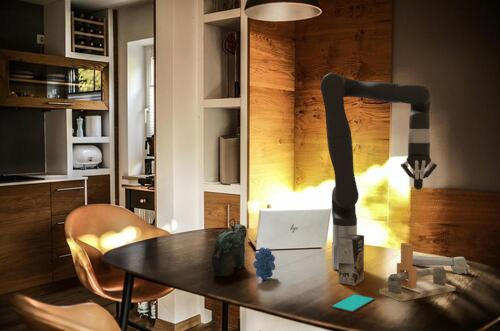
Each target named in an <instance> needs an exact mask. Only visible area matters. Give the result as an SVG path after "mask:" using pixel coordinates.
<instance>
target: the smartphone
mask: <svg viewBox="0 0 500 331" xmlns="http://www.w3.org/2000/svg"><path fill="white" fill-rule="evenodd" d="M374 301H375V298H373V297H369V296H365V295H361V294H351V295H349V296H348V297H346V298H343V299H342V300H339V301H338V302H336V303H334V304H332V305H331V306H330V308H331V309H334V310H339V311H343V312H347V313H351V314H353V313H355V312H357V311H358V310H360V309H362V308H364V307H365V306H367V305H369V304H371V303H372V302H374Z"/></svg>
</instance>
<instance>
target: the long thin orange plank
mask: <svg viewBox="0 0 500 331" xmlns="http://www.w3.org/2000/svg"><path fill="white" fill-rule="evenodd" d="M413 255H414V245H413V244H412V243H408V242H402V243H400V262H397V263H396V273H402V272H406V271H407V272H408V280H407V279H406V280H401V285H402V286H405V287H407V288H410V289H415V288H416V287H417V282H418V281H417V270H418V269H417V266H415V265H413Z"/></svg>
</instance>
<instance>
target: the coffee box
mask: <svg viewBox="0 0 500 331" xmlns="http://www.w3.org/2000/svg"><path fill="white" fill-rule="evenodd" d="M364 278H365V235H362V234H357V235H351V234H347V235H345V236H343V237H340V238H339V270H338V284H344V285H348V286H353V287H354V286H356V285H358V284H360V283H361V282H362V281H364Z"/></svg>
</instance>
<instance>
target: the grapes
mask: <svg viewBox="0 0 500 331" xmlns="http://www.w3.org/2000/svg"><path fill="white" fill-rule="evenodd" d="M254 259H255V261H254V262H253V264H252V265H253V268H254V269H255V275H256V276H257V277H259V278H261V280H263V281H266V280H267V279H268V278H272V276H273V275H274V274H273V271H274V270H276V264H275V263H274V262H275V260H276V258H275V256H274V254H272V250H271V249H270V248H269V247H268V248H267V247H266V248H265V247H260V248H259V250H258V251H257V252H256V253H255V254H254Z"/></svg>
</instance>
